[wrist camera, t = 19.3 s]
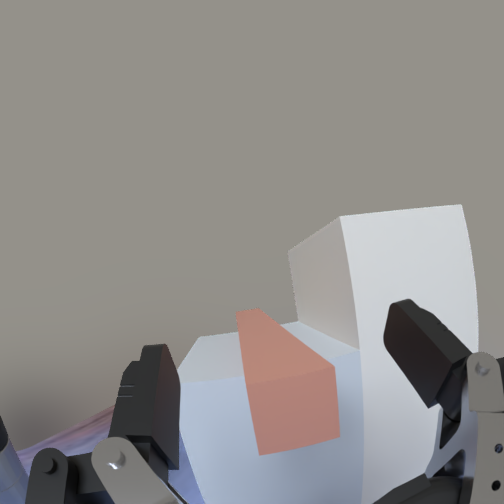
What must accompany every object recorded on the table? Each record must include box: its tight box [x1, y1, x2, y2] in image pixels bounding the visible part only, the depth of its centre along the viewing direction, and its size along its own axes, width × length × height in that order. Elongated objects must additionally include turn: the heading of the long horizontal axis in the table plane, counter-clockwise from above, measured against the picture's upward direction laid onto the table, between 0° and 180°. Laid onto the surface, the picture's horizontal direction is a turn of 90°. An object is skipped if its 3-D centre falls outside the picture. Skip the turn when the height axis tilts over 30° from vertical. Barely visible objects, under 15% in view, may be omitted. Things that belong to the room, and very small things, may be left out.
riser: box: [177, 205, 478, 504], centre depth 28 cm, size 20×28×32 cm
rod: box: [236, 308, 340, 456], centre depth 22 cm, size 28×3×3 cm, turn 4°
